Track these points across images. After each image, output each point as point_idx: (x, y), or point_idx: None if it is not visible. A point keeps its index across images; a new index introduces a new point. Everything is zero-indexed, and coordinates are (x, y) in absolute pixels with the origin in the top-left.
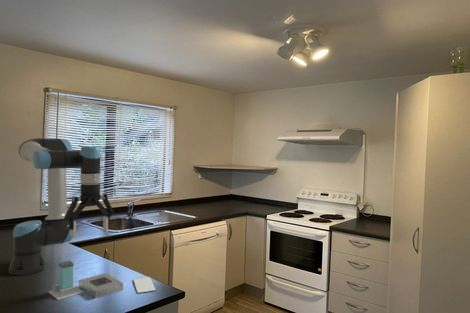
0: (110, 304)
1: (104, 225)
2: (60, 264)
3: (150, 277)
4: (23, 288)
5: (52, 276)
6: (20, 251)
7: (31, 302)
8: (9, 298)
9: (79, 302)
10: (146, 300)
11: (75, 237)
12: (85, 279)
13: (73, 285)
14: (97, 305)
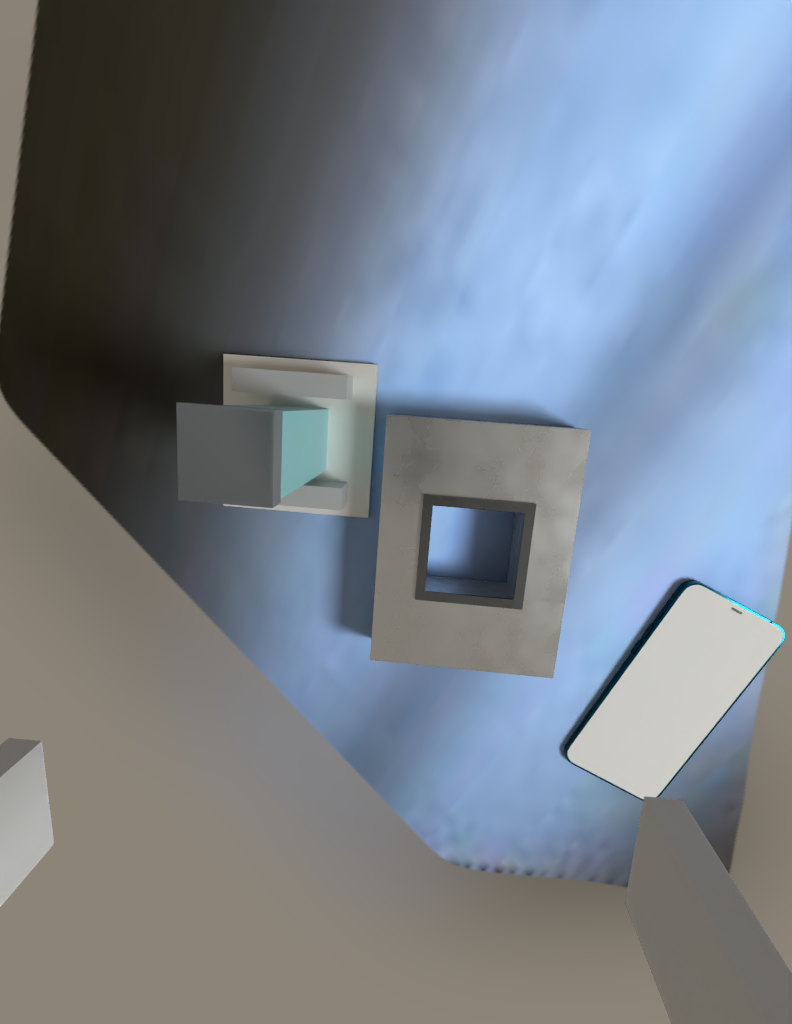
0: (391, 750)
1: (702, 986)
2: (179, 443)
3: (779, 646)
4: (129, 143)
5: (355, 38)
6: None
7: (113, 422)
8: (32, 260)
9: (295, 617)
10: (535, 842)
11: (41, 850)
12: (425, 437)
13: (373, 374)
14: (342, 713)
